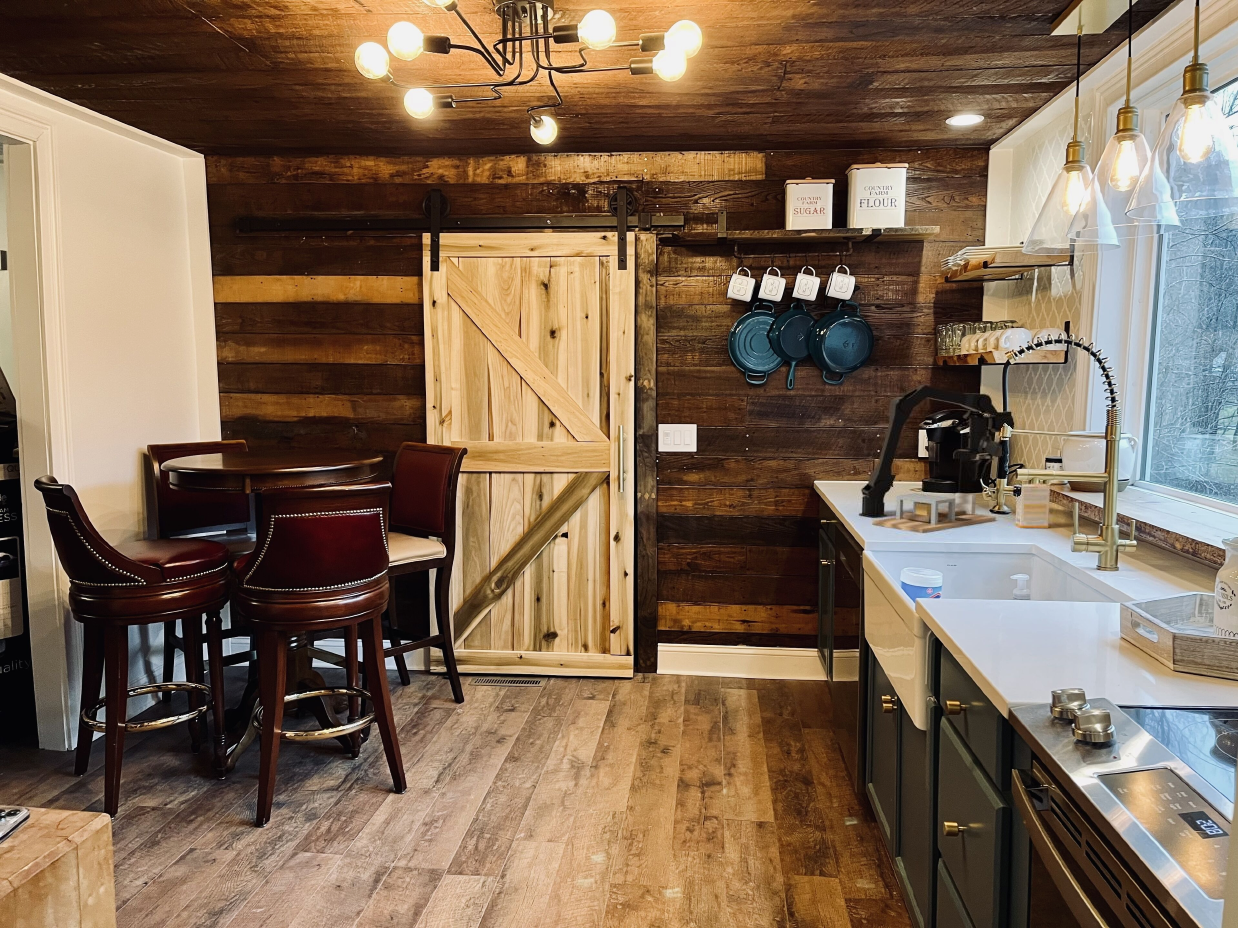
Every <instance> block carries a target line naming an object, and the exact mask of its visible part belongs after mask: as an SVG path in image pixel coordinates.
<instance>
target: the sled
mask: <svg viewBox="0 0 1238 928" xmlns="http://www.w3.org/2000/svg"><path fill="white" fill-rule="evenodd" d="M954 496H955V497H954V498H955V515H958V514H965V513H967V514H976V501H977V500H976V496H977V495H976V494H970V493H961V492H956V493H955V495H954ZM903 516H904V518H906V519H912V520H918V521H925V522H931V517H930V516H926V515H920V514H913V512H906V511H905V512H903ZM947 516H948V512H944V513H939V512H938V521H939V520H945V519H947Z"/></svg>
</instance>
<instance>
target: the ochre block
mask: <svg viewBox="0 0 1238 928" xmlns="http://www.w3.org/2000/svg"><path fill="white" fill-rule="evenodd" d="M931 505H932V504H930V503H922V502H920V503H916V514H920V515H926V516H930V517H931Z"/></svg>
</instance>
